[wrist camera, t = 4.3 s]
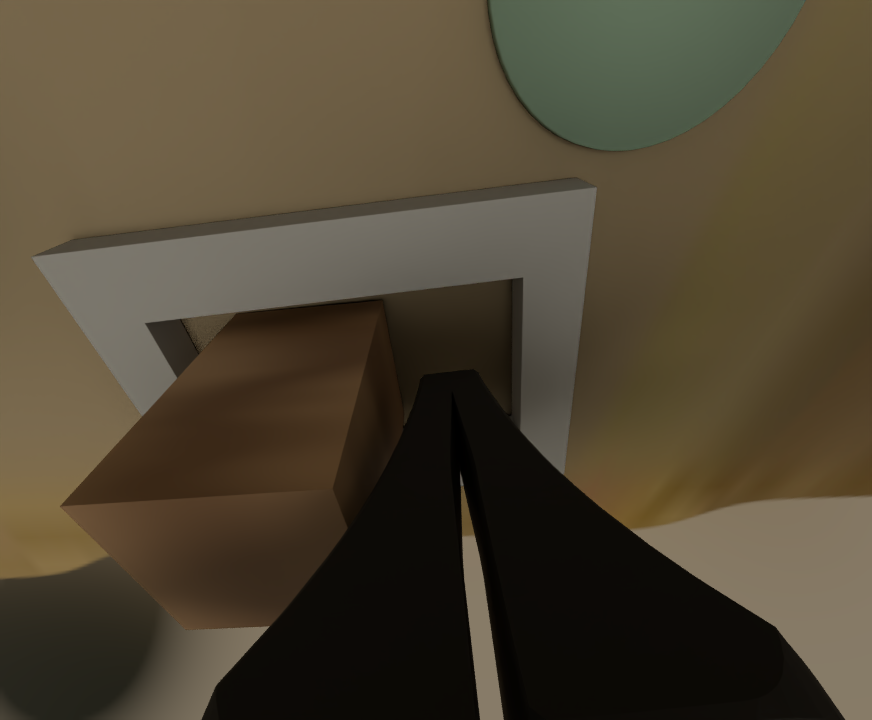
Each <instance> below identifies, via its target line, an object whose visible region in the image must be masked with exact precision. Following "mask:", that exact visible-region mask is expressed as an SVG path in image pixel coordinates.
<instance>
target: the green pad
mask: <svg viewBox="0 0 872 720" xmlns="http://www.w3.org/2000/svg"><path fill="white" fill-rule="evenodd" d="M805 1H806V0H487V2H488V14H489V20H490V25H491V31H492V37H493V41H494V44H495V48H496V51H497V55H498V58H499V61H500V64H501V66H502V68H503V71H504V73H505V75H506V78H507V80H508V82H509V84H510V86H511V87H512V89H513V91H514V92H515V94H516V96H517V98H518V99H519V101H520V102H521V103H522V104H523V106H524V107H525V108H526V109H527V111H528V112H529V113H530V114H531V115H532V116H533V117H534V118H535V119H536V120H537V121H538V122H539V123H540V124H541V125H542V126H544V127H545V128H547V129H548V130H549V131H551V132H552V133H554V134H555V135H557V136H559V137H561V138H563V139H565V140H568V141H570V142H572V143H575V144H578V145H582V146H586V147H590V148H593V149H599V150H608V151H623V150H634V149H639V148H644V147H649V146H652V145H655V144H658V143H661V142H664V141H667V140H670V139H672V138H674V137H676V136H678V135H680V134H682V133H684V132H686V131H688V130H690V129H691V128H693V127H695V126H696V125H698V124H700V123H701V122H703V121H704V120H706V119H707V118H709V117H710V116H711V115H712V114H714V113H715V112H716V111H718V110H719V109H720V108H722V107H723V106H724V105H725V104H726V103H727V102H729V101H730V100H731V99H732V98H733V97H734V96H735V95H736V94H737V93H738V92H739V91H741V90H742V89H743V88H744V86H745V85H746V84H747V83H748V82H749V81H750V80H751V79H752V78H753V77H754V76H755V74H756V73H757V72H758V71H759V70H760V69H761V68H762V66H763V65H764V64H765V62H766V61H767V60H768V59H769V57H770V56H771V55H772V53H773V52H774V51H775V50H776V48H777V47H778V45H779V44H780V42H781V41H782V39H783V38H784V36H785V35H786V33H787V32H788V30H789V29H790V27H791V26H792V24H793V22H794V21H795V19H796V17H797V15H798V13H799V12H800V10H801V8H802V6H803V4H804V2H805Z"/></svg>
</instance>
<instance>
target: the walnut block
mask: <svg viewBox="0 0 872 720" xmlns="http://www.w3.org/2000/svg"><path fill="white" fill-rule="evenodd" d="M403 421H404V410H403V405H402V399H401V394H400V389H399V384H398V379H397V374H396V368H395V363H394V358H393V353H392V348H391V342H390V337H389V332H388V327H387V322H386V317H385V311H384V306H383V301H371V302H360V303H349V304H338V305H327V306H316V307H305V308H294V309H284V310H273V311H262V312H251V313H240V314H236V315H235V316H234V317H233V318H232V319H231V320H230V321H229V322H228V323H227V324H226V326H225V327H224V328H223V329H222V330H221V331H220V332H219V333H218V334H217V335H216V337H215V338H214V339H213V340H212V341H211V342H210V343H209V344H208V345H207V346H206V347H205V349H204V350H203V351H202V352H201V353H200V354H199V355H198V356H197V357H196V358H195V359H194V361H193V362H192V363H191V364H190V365H189V366H188V367H187V368H186V369H185V370H184V371H183V373H182V374H181V375H180V376H179V377H178V378H177V379H176V380H175V381H174V382H173V384H172V385H171V386H170V387H169V388H168V389H167V390H166V391H165V392H164V393H163V394H162V396H161V397H160V398H159V399H158V400H157V401H156V402H155V403H154V404H153V405H152V406H151V408H150V409H149V410H148V411H147V412H146V413H145V414H144V415H143V416H142V417H141V418H140V420H139V421H138V422H137V423H136V424H135V425H134V426H133V427H132V428H131V429H130V431H129V432H128V433H127V434H126V435H125V436H124V437H123V438H122V439H121V440H120V441H119V443H118V444H117V445H116V446H115V447H114V448H113V449H112V450H111V451H110V452H109V453H108V455H107V456H106V457H105V458H104V459H103V460H102V461H101V462H100V463H99V464H98V465H97V467H96V468H95V469H94V470H93V471H92V472H91V473H90V474H89V475H88V476H87V477H86V479H85V480H84V481H83V482H82V483H81V484H80V485H79V486H78V487H77V488H76V490H75V491H74V492H73V493H72V494H71V495H70V496H69V497H68V498H67V499H66V500H65V502H64V503H63V504H62V505H61V506H60V507H61V508H62V509H63V510H64V511H65V512H66V513H67V514H68V515H69V516H70V517H71V518H72V519H73V520H74V521H75V522H76V523H77V524H78V525H79V526H80V527H81V528H82V529H84V530H85V531H86V532H87V533H88V534H89V535H90V536H91V537H92V538H93V539H94V540H95V541H96V542H97V543H98V544H99V545H100V546H101V547H102V548H103V549H104V550H105V551H106V552H107V553H108V554H109V555H110V556H111V557H112V558H113V559H114V560H115V561H116V562H117V563H119V565H120V566H121V567H122V568H123V569H124V570H125V571H126V572H127V573H128V574H130V576H131V577H133V578H134V579H135V580H136V581H137V582H138V583H139V584H140V585H141V586H142V587H143V588H144V589H145V590H146V591H147V592H148V593H149V594H150V595H151V596H152V597H153V598H154V599H155V600H156V601H157V602H158V603H159V604H160V605H161V606H162V607H163V608H164V609H165V610H166V611H167V612H168V613H169V614H170V615H171V616H172V617H173V618H174V619H175V620H176V621H177V622H178V623H179V624H181V625H182V627H184V628H185V629H186V630H196V629H218V628H240V627H263V626H271V625H272V623H273V622H274V621H275V620H276V619H277V618H278V617H279V616H280V614H281V613H282V612H283V611H284V610H285V609H286V607H287V606H288V605H289V604H290V603H291V602H292V600H293V599H294V598H295V597H296V595H297V594H298V593H299V592H300V590H301V589H302V588H303V587H304V585H305V584H306V583H307V582H308V580H309V579H310V578H311V577H312V575H313V574H314V573H315V572H316V570H317V569H318V568H319V567H320V565H321V564H322V563H323V562H324V560H325V559H326V558H327V556H328V555H329V554H330V552H331V551H332V550H333V548H334V547H335V546H336V544H337V543H338V542H339V540H340V539H341V537H342V536H343V535H344V533H345V532H346V530H347V529H348V527H349V526H350V524H351V523H352V521H353V520H354V518H355V517H356V515H357V514H358V513H359V511H360V510H361V508H362V506H363V505H364V503H365V502H366V500H367V498H368V497H369V495H370V494H371V492H372V490H373V489H374V487H375V485H376V483H377V482H378V480H379V478H380V476H381V475H382V473H383V471H384V469H385V467H386V465H387V463H388V461H389V459H390V457H391V455H392V453H393V451H394V449H395V447H396V445H397V443H398V441H399V439H400V437H401V435H402V431H403Z"/></svg>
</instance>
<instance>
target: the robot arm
mask: <svg viewBox="0 0 872 720" xmlns="http://www.w3.org/2000/svg"><path fill="white" fill-rule="evenodd" d="M460 473H461V477H462V481H463V486H464V490H465V494H466V499H467V503H468V507H469V512H470V516H471V520H472V525H473V529H474V533H475V538H476V542H477V546H478V551H479V555H480V560H481V565H482V571H483V576H484V582H485V589H486V596H487V603H488V610H489V617H490V624H491V631H492V639H493V645H494V652H495V660H496V667H497V673H498V681H499V688H500V695H501V703H502V710H503V717H504V720H845V719H844V717H843V716H842V714H841V713H840V712H839V710H838V709H837V707H836V706H835V705H834V703H833V702H832V700H831V699H830V697H829V696H828V694H827V693H826V692H825V690H824V689H823V687H822V686H821V684H820V683H819V681H818V680H817V679H816V677H815V676H814V675H813V673H812V672H811V671H810V669H809V668H808V667H807V665H806V664H805V663H804V662H803V660H802V659H801V658H800V657H799V656H798V654H797V653H796V652H795V651H794V650H793V648H792V647H791V646H790V645H789V644H788V643H787V641H786V640H785V639H784V638H783V636H782V635H781V634H780V633H779V631H778V630H777V628H776V627H775V626H773V625H771V624H770V623H768V622H767V621H765V620H763V619H762V618H760V617H759V616H757V615H755V614H754V613H752V612H751V611H749V610H747V609H746V608H744V607H743V606H741V605H739V604H738V603H736V602H735V601H733V600H731V599H730V598H728V597H727V596H725V595H723V594H722V593H720V592H719V591H717V590H715V589H714V588H712V587H711V586H709V585H707V584H706V583H704V582H703V581H701V580H700V579H698V578H696V577H695V576H694V575H692V574H690V573H689V572H688V571H686V570H685V569H683V568H682V567H680V566H679V565H678V564H676V563H675V562H673V561H672V560H670V559H669V558H668V557H666V556H664V555H663V554H662V553H660V552H659V551H657V550H656V549H655V548H653V547H652V546H650V545H649V544H648V543H646V542H645V541H644V540H642V539H641V538H640V537H638V536H637V535H636V534H634V533H633V532H632V531H631V530H629V529H628V528H627V527H625V526H624V525H623V524H622V523H620V522H619V521H618V520H616V519H615V518H614V517H612V516H611V515H610V514H608V513H607V512H606V511H605V510H603V509H602V508H601V507H599V506H598V505H597V504H596V503H595V502H593V501H592V500H591V499H590V498H589V497H588V496H586V495H585V494H584V493H583V492H582V491H581V490H579V489H578V488H577V487H576V486H575V485H574V484H573V483H572V482H570V481H569V480H568V479H567V478H566V477H565V476H564V475H563V474H562V473H561V472H560V471H559V470H557V469H556V468H555V467H554V466H553V465H552V464H551V463H550V462H549V461H548V460H547V459H546V458H545V457H544V456H543V455H542V454H541V453H540V452H539V450H538V449H537V448H536V447H535V446H534V445H533V444H532V443H531V442H530V441H529V440H528V439H527V438H526V436H525V435H524V434H523V433H522V432H521V431H520V430H519V429H518V427H517V426H516V425H515V424H514V422H513V421H512V420H511V419H510V418H509V416H508V415H507V414H506V413H505V411H504V410H503V409H502V408H501V406H500V405H499V404H498V402H497V401H496V399H495V398H494V397H493V395H492V394H491V392H490V391H489V389H488V388H487V386H486V385H485V383H484V382H483V380H482V378H481V376H480V375H479V373H478V372H477V371H476V370H474V369H470V370H462V371H453V372H444V373H436V374H427V375H424V376H423V377H422V378H421V379H420V383H419V388H418V392H417V395H416V399H415V402H414V405H413V407H412V410H411V413H410V415H409V418H408V420H407V423H406V425H405V428H404V430H403V432H402V435H401V437H400V439H399V441H398V443H397V445H396V447H395V449H394V451H393V453H392V455H391V457H390V459H389V461H388V463H387V465H386V467H385V469H384V471H383V473H382V475H381V476H380V478H379V480H378V482H377V483H376V485H375V487H374V489H373V490H372V492H371V494H370V495H369V497H368V498H367V500H366V502H365V503H364V505H363V506H362V508H361V510H360V511H359V513H358V514H357V515H356V517H355V518H354V520H353V521H352V523H351V524H350V526H349V527H348V529H347V530H346V532H345V533H344V535H343V536H342V537H341V539H340V540H339V542H338V543H337V544H336V546H335V547H334V548H333V550H332V551H331V552H330V554H329V555H328V556H327V558H326V559H325V560H324V562H323V563H322V564H321V565H320V567H319V568H318V569H317V570H316V572H315V573H314V574H313V575H312V577H311V578H310V579H309V580H308V582H307V583H306V584H305V585H304V587H303V588H302V589H301V590H300V592H299V593H298V594H297V595H296V597H295V598H294V599H293V600H292V602H291V603H290V604H289V605H288V606H287V607H286V609H285V610H284V611H283V612H282V613H281V614H280V616H279V617H278V618H277V619H276V620H275V621H274V622H273V623H272V625H271V626H270V627H269V628H268V629H267V630H266V631H265V632H264V633H263V635H262V636H261V637H260V638H259V639H258V640H257V641H256V642H255V643H254V644H253V646H252V647H251V648H250V649H249V650H248V651H247V652H246V653H245V654H244V656H243V657H242V658H241V659H240V660H239V661H238V662H237V663H236V664H235V665H234V667H233V668H232V669H231V670H230V671H229V672H228V673H227V674H226V675H225V676H224V677H223V679H222V680H221V681H220V682H219V683H218V684H217V686H216V687H215V690H214V692H213V694H212V696H211V699H210V701H209V704H208V706H207V708H206V710H205V713H204V715H203V717H202V720H480V716H479V708H478V698H477V689H476V680H475V671H474V663H473V654H472V645H471V636H470V627H469V618H468V609H467V600H466V591H465V583H464V569H463V552H462V551H463V550H462V515H461V480H460Z"/></svg>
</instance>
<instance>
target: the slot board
mask: <svg viewBox="0 0 872 720" xmlns="http://www.w3.org/2000/svg"><path fill="white" fill-rule="evenodd" d="M596 191H597V187H595V186H593V185H591V184H589V183H587V182H585V181H583V180H581V179H579V178H569V179H561V180H553V181H545V182H537V183H529V184H520V185H512V186H504V187H496V188H488V189H480V190H472V191H464V192H456V193H448V194H440V195H431V196H423V197H415V198H407V199H399V200H391V201H383V202H375V203H367V204H359V205H351V206H342V207H334V208H326V209H318V210H310V211H302V212H294V213H286V214H278V215H270V216H262V217H253V218H245V219H237V220H229V221H221V222H213V223H205V224H197V225H189V226H181V227H173V228H164V229H156V230H148V231H140V232H132V233H124V234H116V235H108V236H100V237H92V238H84V239H75V240H70V241H68V242H66V243H63V244H61V245H58V246H56V247H54V248H51V249H49V250H46V251H44V252H42V253H39V254H37V255H35V256H32V257H31V258H32V259H33V261H34V262H35V263H36V265H37V266H38V268H39V269H40V271H41V272H42V273H43V275H44V276H45V278H46V279H47V281H48V282H49V283H50V285H51V286H52V288H53V289H54V291H55V292H56V293H57V295H58V296H59V298H60V299H61V301H62V302H63V304H64V305H65V306H66V308H67V309H68V311H69V312H70V314H71V315H72V316H73V318H74V319H75V321H76V322H77V324H78V325H79V326H80V328H81V329H82V331H83V332H84V334H85V335H86V337H87V338H88V339H89V341H90V342H91V344H92V345H93V347H94V348H95V349H96V351H97V352H98V354H99V355H100V357H101V358H102V359H103V361H104V362H105V364H106V365H107V367H108V368H109V370H110V371H111V372H112V374H113V375H114V377H115V378H116V380H117V381H118V382H119V384H120V385H121V387H122V388H123V390H124V391H125V392H126V394H127V395H128V397H129V398H130V400H131V401H132V403H133V404H134V405H135V407H136V408H137V410H138V411H139V413H140V414H141V415H142V416H143V415H144V414H145V413H146V412H147V411H148V410H149V409H150V408H151V406H152V405H153V404H154V403H155V402H156V401H157V400H158V399H159V398H160V397H161V396H162V394H163V393H164V392H165V391H166V390H167V389H168V388H169V387H170V386H171V385H172V384H173V382H174V381H175V380H176V379H177V378H178V377H179V376H180V375H181V374H182V373H183V371H184V370H185V369H186V368H187V367H188V366H189V365H190V364H191V363H192V362H193V361H194V359H195V358H196V357H197V356H198V353H197V351H196V349H195V347H194V345H193V343H192V341H191V340H190V338H189V336H188V334H187V332H186V330H185V328H184V326H183V324H182V323H181V321H180V319H183V318H191V317H200V316H208V315H216V314H225V313H233V312H241V311H249V310H258V309H266V308H274V307H283V306H291V305H299V304H307V303H316V302H324V301H332V300H341V299H349V298H357V297H365V296H374V295H382V294H390V293H399V292H407V291H415V290H423V289H432V288H440V287H448V286H457V285H465V284H473V283H481V282H490V281H498V280H506V279H512V415H511V416H509V418H510V419H511V420H512V421H513V422H514V424H515V425H516V426H517V427H518V429H519V430H520V431H521V432H522V433H523V434H524V435H525V436H526V438H527V439H528V440H529V441H530V442H531V443H532V444H533V445H534V446H535V447H536V448H537V449H538V450H539V452H540V453H541V454H542V455H543V456H544V457H545V458H546V459H547V460H548V461H549V462H550V463H551V464H552V465H553V466H554V467H555V468H556V469H557V470H559V471H560V472H561V473H562V474H564V470H565V461H566V452H567V444H568V435H569V426H570V418H571V409H572V400H573V391H574V383H575V374H576V365H577V357H578V348H579V339H580V330H581V322H582V313H583V304H584V296H585V287H586V278H587V270H588V261H589V252H590V243H591V235H592V226H593V217H594V209H595V200H596ZM403 430H404V428H403ZM402 432H403V431H402ZM460 480H461V486H463V481H462V477H461V473H460Z"/></svg>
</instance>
